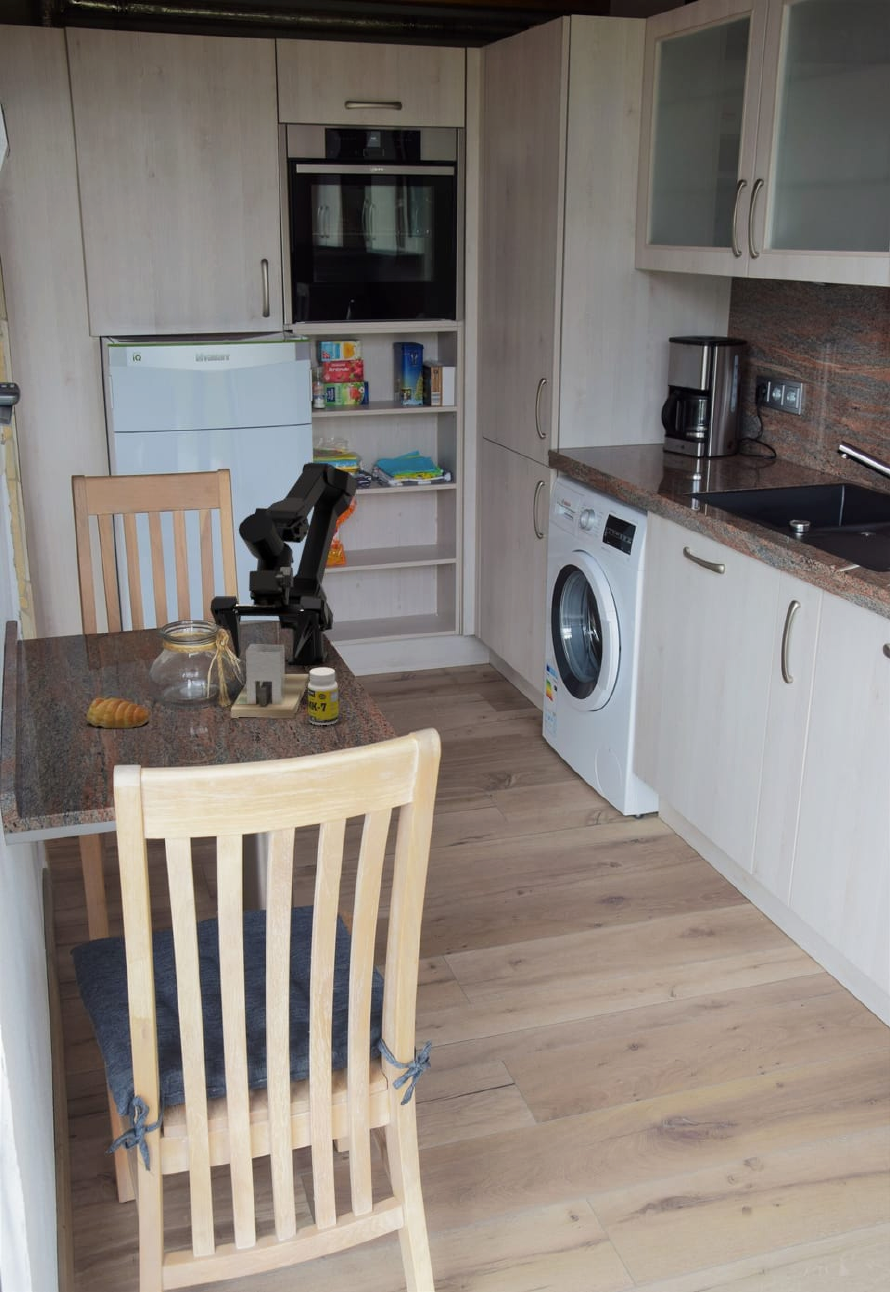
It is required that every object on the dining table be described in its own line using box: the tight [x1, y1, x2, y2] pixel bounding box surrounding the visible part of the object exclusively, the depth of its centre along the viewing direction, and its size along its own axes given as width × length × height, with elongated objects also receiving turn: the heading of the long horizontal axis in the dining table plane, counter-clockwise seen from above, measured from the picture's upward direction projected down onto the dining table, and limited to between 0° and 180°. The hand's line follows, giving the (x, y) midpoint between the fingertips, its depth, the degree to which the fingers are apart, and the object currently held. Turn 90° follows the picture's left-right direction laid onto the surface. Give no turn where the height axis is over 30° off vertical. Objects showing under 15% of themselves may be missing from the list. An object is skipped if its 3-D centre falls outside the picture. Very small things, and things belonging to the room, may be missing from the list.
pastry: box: [86, 697, 150, 729], centre depth 188 cm, size 9×7×4 cm
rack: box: [230, 673, 310, 719], centre depth 198 cm, size 18×10×4 cm, turn 178°
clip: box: [245, 643, 286, 705], centre depth 192 cm, size 4×6×9 cm
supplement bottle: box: [307, 667, 339, 727], centre depth 188 cm, size 5×5×8 cm
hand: (265, 657), depth 192 cm, fingers open, 9 cm apart
